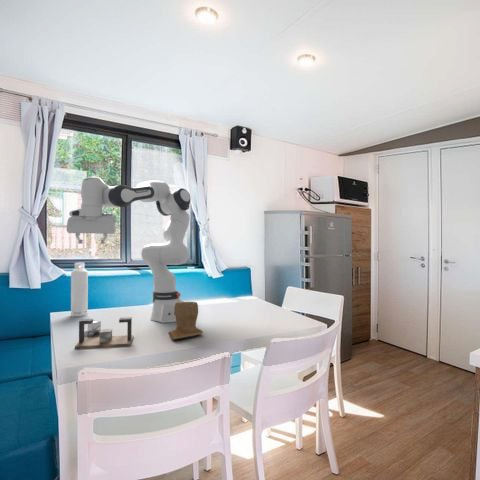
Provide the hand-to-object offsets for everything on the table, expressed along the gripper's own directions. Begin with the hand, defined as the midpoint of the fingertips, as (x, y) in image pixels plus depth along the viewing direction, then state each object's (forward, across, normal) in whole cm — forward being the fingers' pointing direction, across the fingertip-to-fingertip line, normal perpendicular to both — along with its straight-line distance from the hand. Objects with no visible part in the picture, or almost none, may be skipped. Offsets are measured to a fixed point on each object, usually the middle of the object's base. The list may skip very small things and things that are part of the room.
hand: (91, 243), depth 148 cm
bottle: (+39, +13, -31) cm, 52 cm away
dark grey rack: (+39, -10, +20) cm, 45 cm away
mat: (+39, -3, +8) cm, 40 cm away
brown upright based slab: (+39, -41, +16) cm, 59 cm away
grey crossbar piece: (+38, -3, +8) cm, 39 cm away
